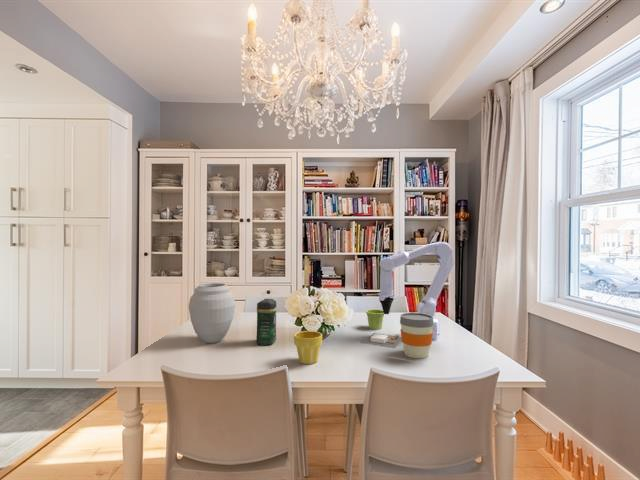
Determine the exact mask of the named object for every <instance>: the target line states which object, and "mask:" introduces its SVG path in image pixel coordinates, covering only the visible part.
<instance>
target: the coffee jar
mask: <svg viewBox="0 0 640 480" xmlns="http://www.w3.org/2000/svg"><path fill="white" fill-rule="evenodd" d="M276 340H277V301H276V300H275V299H274V298H264V299H262V300H261V301H258V302H257V303H256V344H257V345H261V346H267V345H268V346H269V345H273V344H274V343H275V342H276Z"/></svg>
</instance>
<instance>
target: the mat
mask: <svg viewBox="0 0 640 480" xmlns="http://www.w3.org/2000/svg"><path fill="white" fill-rule="evenodd" d="M375 334H380V335H386V336H389V340H391V338H392V337H393V336H394V335H393V334H392V335H391V334H385V333H383V334H382V333H379V332H378V333H377V332H373V333H372V334H370V335H368V336H367V337H366V338H364V339H363V340H362V341H360V344H364V345H365V344H367V345H373V346H376V347H377V346H378V347H383V348H391V349H395V348H396V347H398V345H400V344H401V343H403V342H402V338H401V336H399V338H397V339H396V340H395V341H396V342H395V343H394V344H389V343H386V342H385V343H384V344H383V343H377V342H371V337H372V336H373V335H375Z"/></svg>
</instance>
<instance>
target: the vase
mask: <svg viewBox="0 0 640 480" xmlns="http://www.w3.org/2000/svg"><path fill="white" fill-rule="evenodd" d="M230 289H231V287H229V286H228V285H226V284H224V283H212V282H211V283H204V284H199V285H198V286H196V287H195V288H194V290H193V291H194V293H193V294H192V295H191V296H190V297H189V301H188V302H189V303H188V311H189V317H190V318H189V319H190V322H191V325H192V328H193V330H194V332H195V334H196V335H197V337H198V339H199V340H200V341H201V342H202V343H205V344H216V343H219V342H221V341H223V339H224V338H225V337H226V336H227V333H228V332H229V330H230V328H231V325H232V322H233V319H234V316H235V315H234V314H235V308H236V301H235V296H234V294H233V293H232V292H231V290H230Z"/></svg>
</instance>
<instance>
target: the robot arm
mask: <svg viewBox="0 0 640 480" xmlns="http://www.w3.org/2000/svg"><path fill="white" fill-rule="evenodd" d="M453 252H454V250H453V248H452V246H451V245H450V244H449V242H446V241H436V242H432V243H428V244H425V245H423V246H420V247H418V248H415V249H413V250H410V251H407V252H406V251H403V250H399V251H398V252H397V253H395V254H392V255H391V254H389V255H387V256H388V257H384V258H381V260H380V261H379V267H380V271H379V272H380V275H379V288H380V289H379V292H378V293H377V295H378V301H379V302H380V305H381V308H382V310H383V312H384V315H389V314H390V311H391V307H392V304H393V302H394V299H395V298H394V274H393V270H394V268H398V267H401V266H403V265H406V264H409V263H410V261H411V259H414V258H417V257H419V256H420V257H421V256H423V255H427V254H432V255H435V257H436V258H437V259H438V261H439V263H440V265H439V267H438V269H437V271H436V274H435V276H434V277H433V280H432V281H431V284H430V286H429V288H428V290H427V292H426V294H425V295H424V297H423V298H422V300H421V301H420V302H418V304H417V306H416V311H417V313H422V314H427V315H431V316H432V317H433V323H434V325H433V328H432V331H433V336H432V342H433V341H434V342H437V341H438V340H439V338H440V319H437V318H435V317H434V316H435V315H436V307H437V303H438V301H437V300H438V298H439V297H440V295H441V292H442V290H443V288H444V286H445V285H446V282H447V279H448V278H449V276H450V273H451V271H452V269H453V267H454V264H455V263H454V257H453Z"/></svg>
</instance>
